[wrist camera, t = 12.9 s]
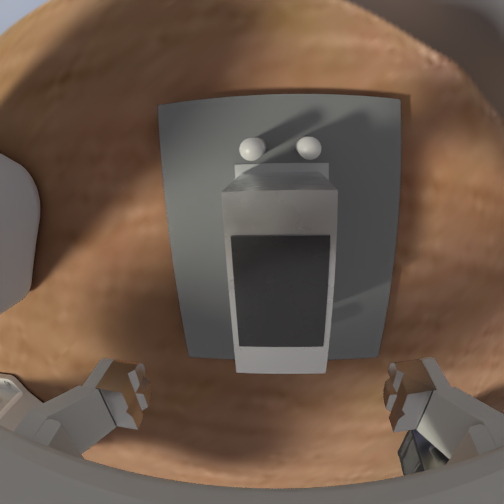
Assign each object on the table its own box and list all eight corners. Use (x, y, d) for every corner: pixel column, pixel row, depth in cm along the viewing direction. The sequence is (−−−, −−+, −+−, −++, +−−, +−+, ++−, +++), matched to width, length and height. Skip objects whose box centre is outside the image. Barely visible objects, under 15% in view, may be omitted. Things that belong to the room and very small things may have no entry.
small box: (482, 407, 28) (511, 469, 18) (463, 438, 30) (485, 496, 20) (410, 422, 29) (431, 496, 19) (395, 453, 31) (410, 520, 22)
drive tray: (192, 348, 27) (176, 388, 22) (163, 106, 20) (131, 100, 15) (374, 348, 26) (388, 389, 21) (394, 100, 19) (424, 93, 14)
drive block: (249, 310, 24) (236, 373, 17) (241, 173, 20) (220, 192, 14) (316, 309, 23) (325, 374, 17) (319, 171, 20) (338, 190, 13)
